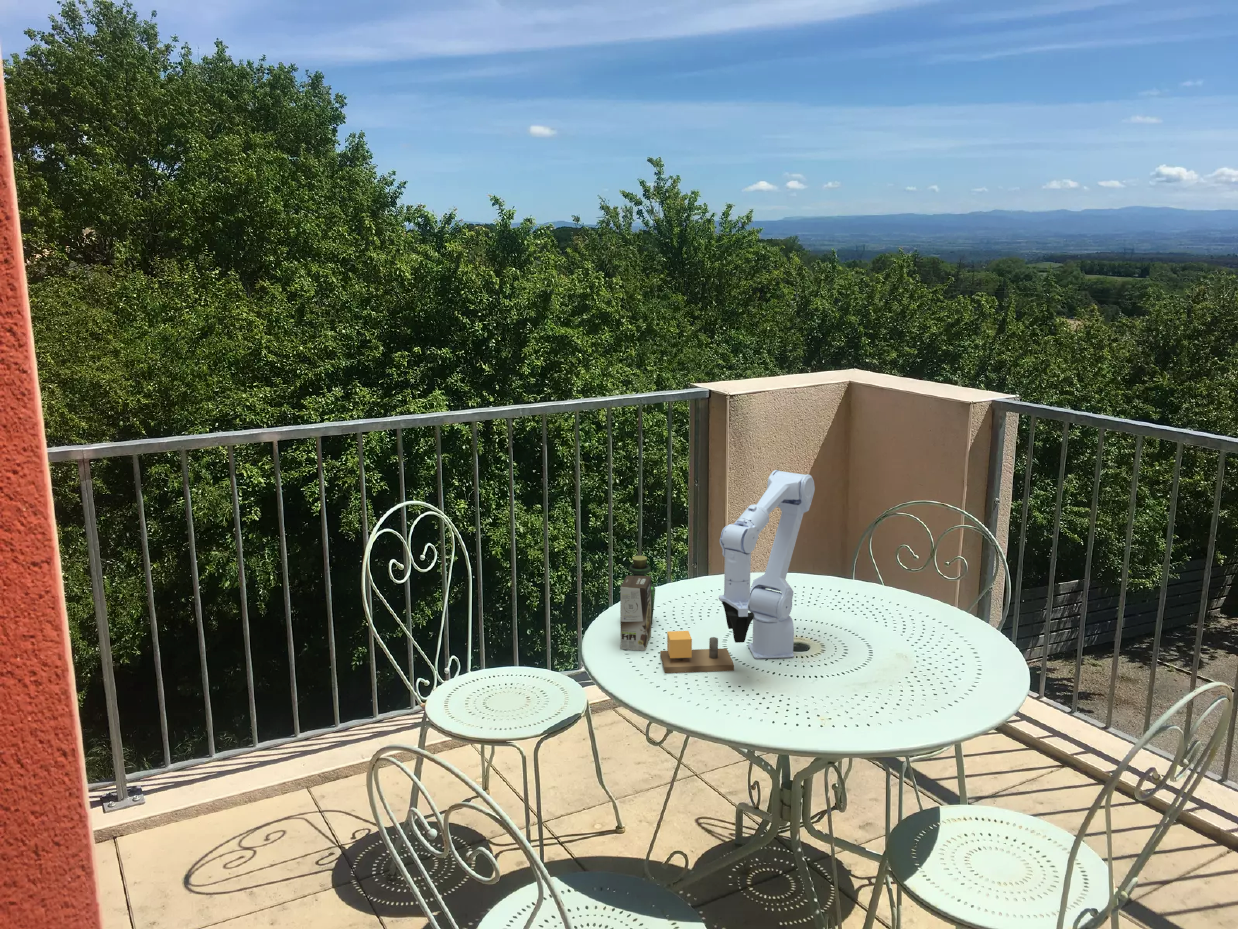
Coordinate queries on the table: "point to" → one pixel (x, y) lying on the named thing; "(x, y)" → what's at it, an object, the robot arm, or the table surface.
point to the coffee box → (635, 612)
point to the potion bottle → (642, 569)
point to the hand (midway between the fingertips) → (736, 635)
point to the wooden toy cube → (679, 644)
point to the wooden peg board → (699, 660)
